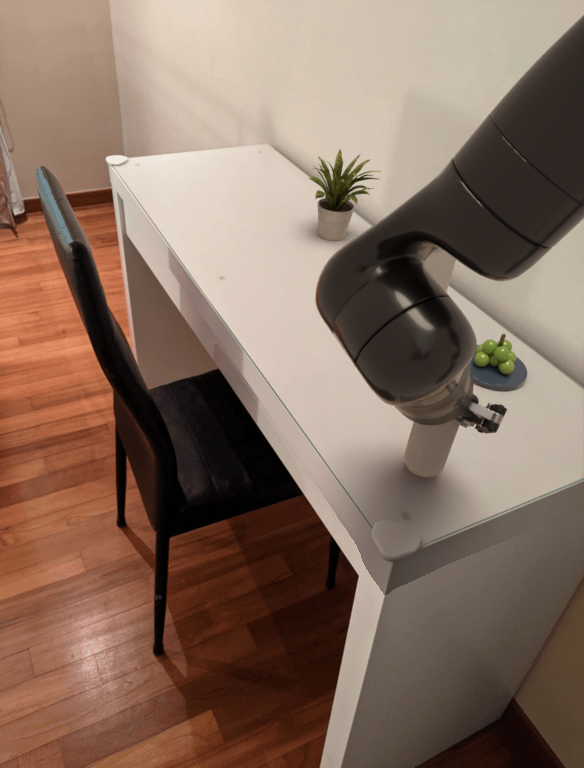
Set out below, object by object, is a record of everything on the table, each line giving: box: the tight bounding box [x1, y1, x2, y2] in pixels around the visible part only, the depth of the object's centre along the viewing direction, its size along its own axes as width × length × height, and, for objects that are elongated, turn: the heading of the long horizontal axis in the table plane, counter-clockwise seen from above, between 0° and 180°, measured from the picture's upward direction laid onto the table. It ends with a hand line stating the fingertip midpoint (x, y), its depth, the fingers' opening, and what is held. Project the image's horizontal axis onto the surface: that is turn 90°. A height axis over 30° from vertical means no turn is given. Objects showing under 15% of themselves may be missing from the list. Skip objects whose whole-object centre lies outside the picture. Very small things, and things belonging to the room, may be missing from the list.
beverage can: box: [403, 421, 460, 478], centre depth 68 cm, size 5×5×12 cm
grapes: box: [469, 333, 528, 392], centre depth 88 cm, size 10×10×6 cm
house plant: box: [308, 148, 383, 242], centre depth 114 cm, size 14×14×16 cm
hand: (444, 407), depth 68 cm, fingers closed on beverage can, 5 cm apart
